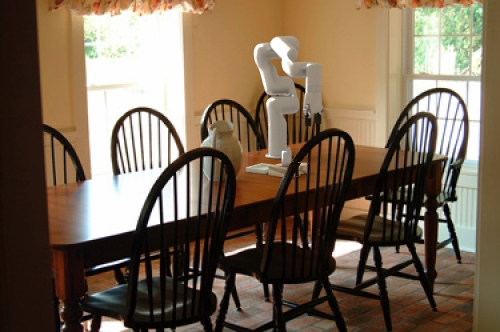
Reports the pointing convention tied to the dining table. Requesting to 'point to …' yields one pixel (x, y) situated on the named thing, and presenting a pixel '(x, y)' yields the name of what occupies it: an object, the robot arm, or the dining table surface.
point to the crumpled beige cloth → (280, 171)
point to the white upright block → (286, 158)
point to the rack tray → (259, 168)
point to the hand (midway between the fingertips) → (313, 125)
